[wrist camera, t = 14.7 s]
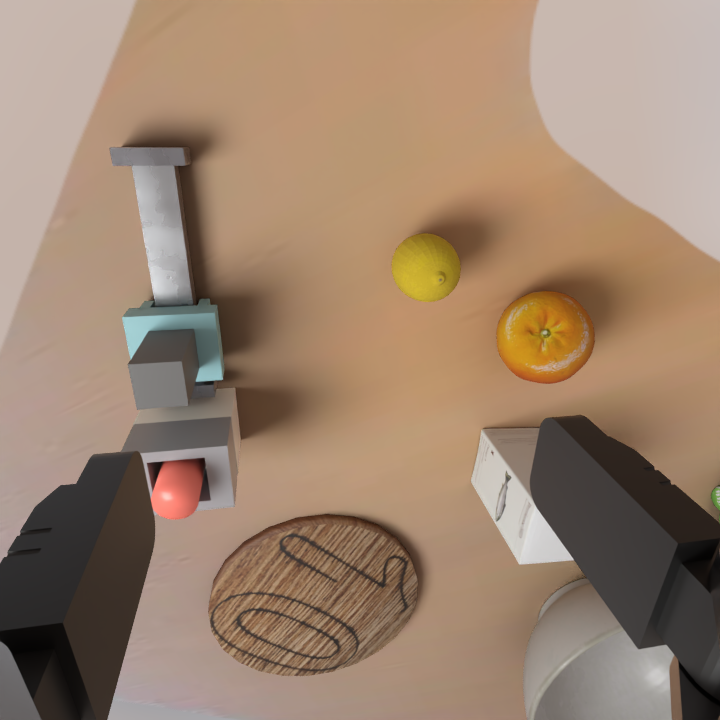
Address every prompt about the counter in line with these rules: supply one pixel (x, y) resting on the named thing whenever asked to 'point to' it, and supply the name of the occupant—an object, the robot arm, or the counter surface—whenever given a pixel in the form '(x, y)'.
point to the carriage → (172, 351)
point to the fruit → (545, 337)
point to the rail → (164, 227)
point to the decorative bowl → (591, 664)
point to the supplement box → (514, 494)
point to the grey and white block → (193, 443)
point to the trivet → (312, 595)
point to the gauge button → (178, 488)
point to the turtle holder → (716, 498)
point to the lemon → (426, 267)
